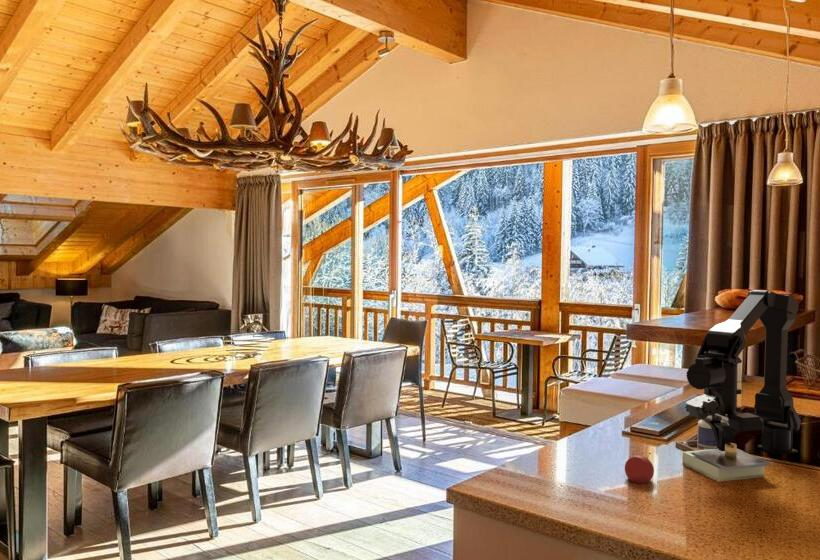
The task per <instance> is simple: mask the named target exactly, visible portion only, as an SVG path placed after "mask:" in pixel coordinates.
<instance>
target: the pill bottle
mask: <svg viewBox="0 0 820 560" xmlns="http://www.w3.org/2000/svg"><path fill="white" fill-rule="evenodd" d="M697 440H698V441H697V445H696V447H697V450H708V449H718V446H717V443H716V440H715V436H714V433H713V431H712V428H711V426H710V425H709V424H708V423H706V422H705V421H703V419H699V420H698V422H697Z"/></svg>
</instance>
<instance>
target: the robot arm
mask: <svg viewBox="0 0 820 560" xmlns="http://www.w3.org/2000/svg"><path fill="white" fill-rule="evenodd" d="M799 306H800V305H799V301H798V300H797V299H796V298H795V297H794V296H793V294H782V293H776V292H774V291H771V290H765V289H752V290H750V291H748V293H747V297H746V298H745V299H744V300H743V302H742V303H741V304H740V305H739V306H738V307H737V308H736V310H735V311H734V312H733V314H731V316H730V317H729V318H728V319H727V320H725V321H723V322H720V323H717V324H715V325H713V327H711V328H710V329H709V330H708V331H707V333H706V334H705V336H704V338H703V341H702V344H701V346H700V348H699V350H698V353H697V355H696V357H695V360H694V362H695V363H693V364H692V365H690V366H688V369H687V371H686V379H687V382H688V383H689V385H690V386H691V387H692V388H694V389H697V390H704V391H703V394H700V395H698V396H695V397H693V398H691V399H689V400H687V401H686V402H685V405H686V406H685V407H686V409H685V411H686V412H688V415H689V416H690V417H694V418H697V420H702V419H703V421H705V422H706V423H708V424H709V425H710V426H711V428H712V431H713V433H714V436H715V440H716V443H717V446H718V449H719V450H720V451H725V443H732V442H731V441H732V440H733V438H734V436H735V435H736V434H737V433H738V431H739V432H748V431H749V432H750V431H761V430H762V431H761V444H757V448H759V449H761V450H763V451H766V452H769V453H772V454H774V455H786V454H787V455H788V454H796V453H798V450H797V449H794V448H793V443H794V442H793V437H794V436H793V434H794V433H793V432H794V431H795V432H797V431H799V430H800V427H801V421H802V420H801V418H800V416H799V415H798V413H797V411H796V409H795V406H794V397H793V396H792V394H791V393H790V391H789V390H788V388H787V371H788V370H787V369H788V346H789V345H788V344H789V343H788V340H789V339H788V338H789V329H790V328H791V326H792V325H793V324H794V323H795V321H796V320H797V313H798V311H799ZM758 320H760V322H761V324H762V325H763V326H764V328H765V344H764V348H765V349H764V372H763V373H764V376H763V387H762V388H761V389H760V390H759V392H756V393H755V395H754V405H753V406H754V407H753V411H754V414H753V413H750V412H742V407H740V406H738V395H742V389H740V388H738V366H739V365H738V364H742V362H743V360H742V359H741V358H740V357H739V356H740V354H741V353H742V351H744V348H745V346H746V344H747V337H746V336H747V334H748V332H749V331H750V330H751V329H752V327H753V326H754V325H755V324H756V323H757V322H758Z"/></svg>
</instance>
